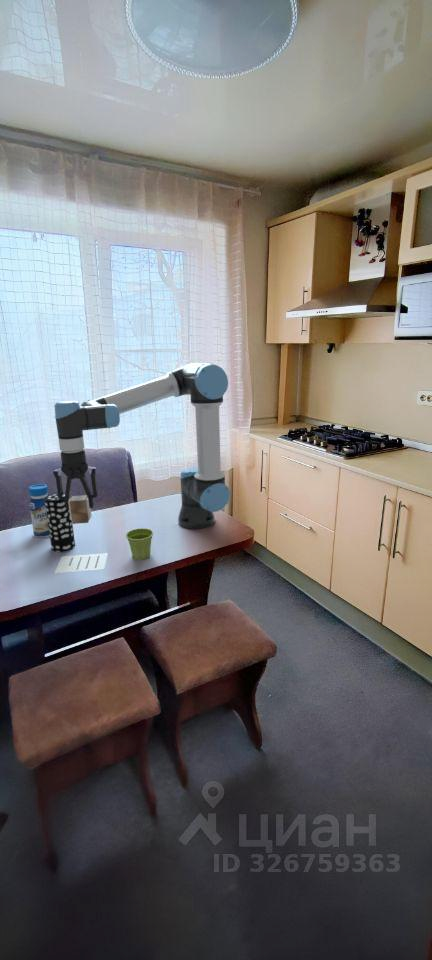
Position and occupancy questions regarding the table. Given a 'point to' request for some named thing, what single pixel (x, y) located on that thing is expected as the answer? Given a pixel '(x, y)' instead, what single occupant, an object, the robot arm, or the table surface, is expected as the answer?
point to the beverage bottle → (39, 510)
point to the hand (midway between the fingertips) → (81, 517)
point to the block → (79, 509)
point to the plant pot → (140, 542)
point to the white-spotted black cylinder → (59, 524)
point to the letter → (81, 563)
